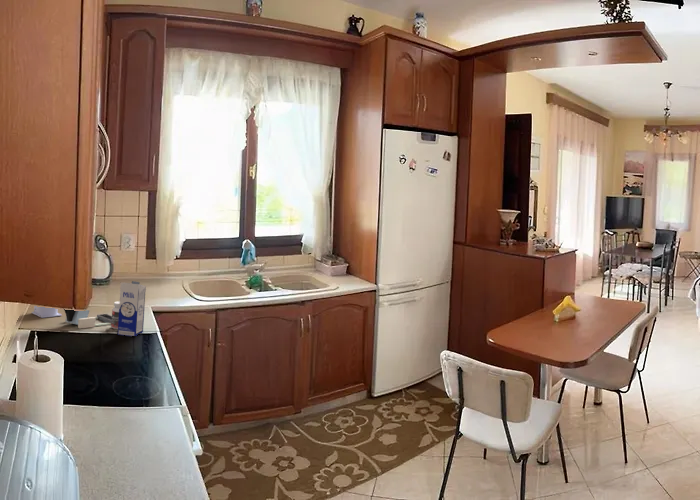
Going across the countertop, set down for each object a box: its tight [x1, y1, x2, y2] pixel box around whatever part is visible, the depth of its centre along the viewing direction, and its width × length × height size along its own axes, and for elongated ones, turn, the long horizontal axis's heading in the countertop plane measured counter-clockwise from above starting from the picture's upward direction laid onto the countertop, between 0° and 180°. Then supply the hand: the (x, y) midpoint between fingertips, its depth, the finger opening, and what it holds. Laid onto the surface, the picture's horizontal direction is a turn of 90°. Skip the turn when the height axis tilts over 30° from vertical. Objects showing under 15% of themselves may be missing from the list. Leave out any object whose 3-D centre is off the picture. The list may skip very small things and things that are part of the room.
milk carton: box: [117, 280, 147, 337], centre depth 217 cm, size 7×7×20 cm
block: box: [64, 309, 90, 326], centre depth 223 cm, size 5×5×6 cm
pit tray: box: [96, 313, 112, 323], centre depth 233 cm, size 11×4×2 cm, turn 51°
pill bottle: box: [110, 300, 120, 330], centre depth 225 cm, size 6×6×10 cm
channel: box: [65, 316, 111, 329], centre depth 227 cm, size 11×12×4 cm
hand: (69, 321), depth 220 cm, fingers closed, pressing on block
